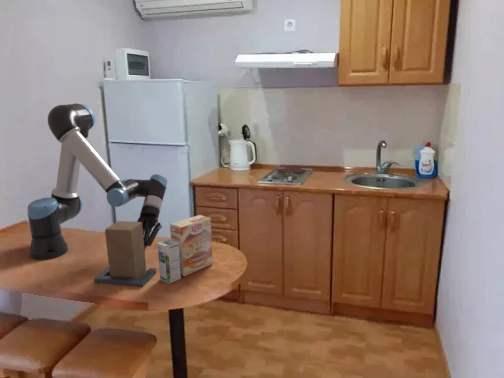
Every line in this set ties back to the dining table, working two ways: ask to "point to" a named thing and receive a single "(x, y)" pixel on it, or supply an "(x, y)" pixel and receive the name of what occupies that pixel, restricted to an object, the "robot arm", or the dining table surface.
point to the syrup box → (169, 261)
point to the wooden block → (126, 249)
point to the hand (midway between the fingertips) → (136, 261)
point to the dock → (124, 278)
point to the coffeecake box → (193, 243)
